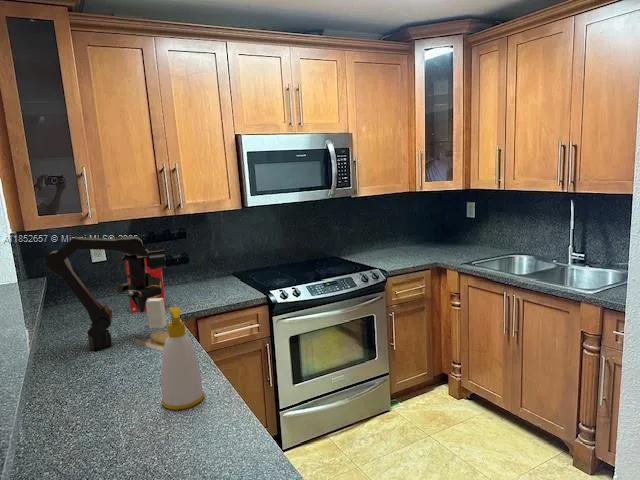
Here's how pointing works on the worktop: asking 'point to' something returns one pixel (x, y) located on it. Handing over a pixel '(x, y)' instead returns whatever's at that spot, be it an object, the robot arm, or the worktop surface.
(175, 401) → the soap bottle
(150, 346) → the slot board
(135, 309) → the food packaging
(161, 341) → the chip
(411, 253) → the worktop surface
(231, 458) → the worktop surface
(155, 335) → the chip
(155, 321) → the skincare box
